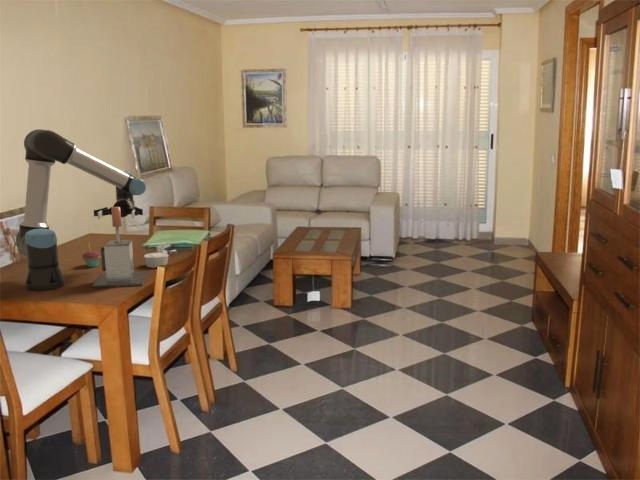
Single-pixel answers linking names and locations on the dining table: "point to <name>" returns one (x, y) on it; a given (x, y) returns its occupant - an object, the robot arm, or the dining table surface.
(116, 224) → the salmon orange cylinder
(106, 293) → the dining table surface
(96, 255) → the cupcake
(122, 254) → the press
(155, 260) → the ramekin
